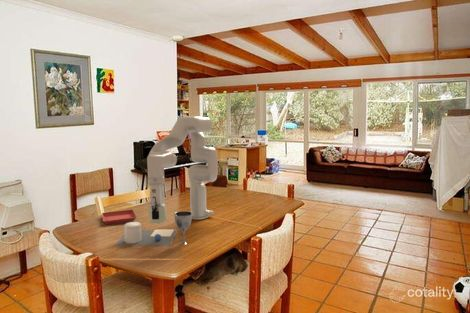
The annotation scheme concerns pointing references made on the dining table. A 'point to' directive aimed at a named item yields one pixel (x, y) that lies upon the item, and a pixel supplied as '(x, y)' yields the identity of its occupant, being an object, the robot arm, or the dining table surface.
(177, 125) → the robot arm
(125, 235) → the white cup
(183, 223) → the wine glass
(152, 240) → the mat
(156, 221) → the sage cup
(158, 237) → the ball
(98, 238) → the dining table surface
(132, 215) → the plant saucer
